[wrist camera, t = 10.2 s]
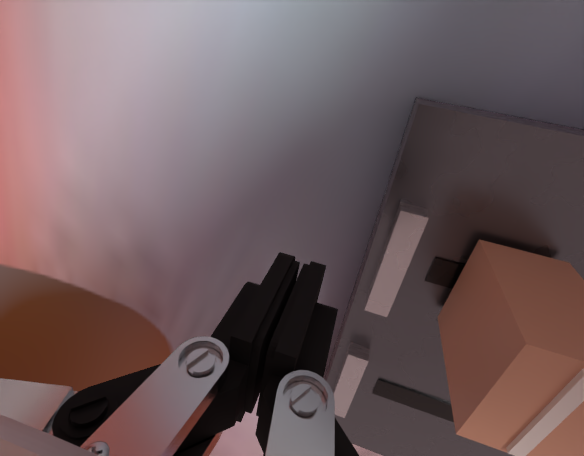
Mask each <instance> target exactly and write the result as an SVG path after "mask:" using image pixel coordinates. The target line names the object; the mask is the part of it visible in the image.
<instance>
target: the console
mask: <svg viewBox="0 0 584 456" xmlns="http://www.w3.org/2000/svg"><path fill="white" fill-rule="evenodd" d="M479 239H480V240H484V241H487V242H491V243H495V244H499V245H503V246H507V247H511V248H514V249H518V250H522V251H526V252H530V253H534V254H538V255H541V256H545V257H549V258H553V259H557V260H561V261H565V262H569V263H570V264H571V265H572V267H573V268H574V269H575V270H576V271H577V272H578V274H579V275H580V276H581V277H582V278H583V280H584V130H582V129H577V128H572V127H567V126H562V125H557V124H551V123H546V122H541V121H536V120H531V119H526V118H520V117H515V116H510V115H505V114H500V113H494V112H489V111H484V110H479V109H474V108H469V107H463V106H458V105H453V104H448V103H443V102H438V101H432V100H427V99H422V98H417V97H416V99H415V102H414V105H413V108H412V111H411V114H410V117H409V120H408V123H407V126H406V130H405V133H404V136H403V139H402V142H401V145H400V148H399V151H398V154H397V157H396V160H395V163H394V166H393V169H392V173H391V176H390V179H389V182H388V185H387V188H386V191H385V194H384V197H383V200H382V203H381V206H380V209H379V212H378V216H377V219H376V222H375V225H374V228H373V231H372V234H371V237H370V240H369V243H368V246H367V249H366V252H365V256H364V259H363V262H362V265H361V268H360V271H359V274H358V277H357V280H356V283H355V286H354V289H353V292H352V295H351V299H350V302H349V305H348V308H347V311H346V314H345V317H344V320H343V323H342V326H341V329H340V332H339V335H338V338H337V342H336V345H335V348H334V351H333V354H332V357H331V360H330V363H329V366H328V369H327V372H326V375H325V378H324V379H325V381H326V382H327V383H328V384H329V385H330V387H331V389H332V391H333V394H334V400H335V418H336V420H337V421H338V423H339V424H340V426H341V428H342V429H343V431H344V432H345V434H346V436H347V437H348V439H349V440H350V442H351V443H352V444H355V445H357V446H360V447H363V448H365V449H368V450H370V451H373V452H376V453H378V454H381V455H383V456H514V455H511V454H508V453H506V452H504V451H501V450H498V449H495V448H492V447H490V446H487V445H484V444H481V443H479V442H476V441H473V440H470V439H468V438H465V437H462V436H459V435H457V434H456V432H455V425H454V419H453V412H452V406H451V400H450V393H449V387H448V381H447V374H446V368H445V361H444V355H443V349H442V342H441V336H440V330H439V323H438V315H439V314H440V312H441V310H442V308H443V306H444V304H445V302H446V300H447V299H448V297H449V295H450V293H451V291H452V289H453V287H454V285H455V284H456V282H457V280H458V278H459V276H460V274H461V272H462V270H463V269H464V267H465V265H466V263H467V261H468V259H469V257H470V255H471V254H472V252H473V250H474V248H475V246H476V244H477V242H478V240H479Z"/></svg>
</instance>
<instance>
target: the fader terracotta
mask: <svg viewBox="0 0 584 456" xmlns="http://www.w3.org/2000/svg"><path fill="white" fill-rule="evenodd" d="M438 323H439V330H440V336H441V342H442V349H443V355H444V361H445V368H446V374H447V381H448V387H449V393H450V400H451V406H452V412H453V419H454V425H455V432H456V434H457V435H459V436H462V437H465V438H468V439H470V440H473V441H476V442H479V443H481V444H484V445H487V446H490V447H492V448H495V449H498V450H501V451H504V452H506V453H508V454H511V455H514V456H584V280H583V278H582V277H581V276H580V275H579V274H578V272H577V271H576V270H575V269H574V268H573V267H572V265H571V264H570V263H569V262H565V261H561V260H557V259H553V258H549V257H545V256H541V255H538V254H534V253H530V252H526V251H522V250H518V249H514V248H511V247H507V246H503V245H499V244H495V243H491V242H487V241H484V240H480V239H479V240H478V242H477V244H476V246H475V248H474V250H473V252H472V254H471V255H470V257H469V259H468V261H467V263H466V265H465V267H464V269H463V270H462V272H461V274H460V276H459V278H458V280H457V282H456V284H455V285H454V287H453V289H452V291H451V293H450V295H449V297H448V299H447V300H446V302H445V304H444V306H443V308H442V310H441V312H440V314H439V315H438Z"/></svg>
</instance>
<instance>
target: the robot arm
mask: <svg viewBox="0 0 584 456" xmlns="http://www.w3.org/2000/svg"><path fill="white" fill-rule="evenodd" d="M299 264H300V262H297V261H295V256H291V255H288V254H284V253H281V252H280V253H279V254H278V256H277V258H276V259H275V261H274V263H273V264H272V266H271V268H270V269H269V271H268V273H267V275H266V276H265V278H264V280H263V281H262V283H261V285H258V284H255V283H251V282H247V283H246V284H245V285H244V287H243V288H242V290H241V291H240V293H239V294H238V296H237V297H236V299H235V300H234V302H233V303H232V305H231V306H230V308H229V309H228V311H227V312H226V314H225V316H224V317H223V319H222V320H221V322H220V323H219V325H218V326H217V328H216V329H215V331H214V332H213V334H212V335H211V337H206V336H200V337H195V338H192V339H189V340H187V341H185V342H184V343H183V344H181V345H180V346H179V347H178V348H177V349H176V350H175V351H174V352H173V353H172V354H171V355H170V356H169V357H168V358H167V359H166V360H165V361H164V362H163V363H162V364H159V365H156V366H153V367H150V368H147V369H144V370H141V371H138V372H134V373H132V374H128V375H125V376H122V377H119V378H116V379H113V380H109V381H106V382H103V383H100V384H97V385H94V386H91V387H88V388H86V389H83V390H82V391H73V388H72V387H70V386H62V385H53V384H44V383H35V382H27V381H19V380H10V379H2V378H0V456H209V455H210V453H211V451H212V450H213V448H214V447H215V445H216V443H217V442H218V440H219V438H220V436H221V434H222V432H223V431H224V430H226V429H228V428H230V427H233V426H234V425H235V423H236V421H239V422H241V421H242V418H243V416H244V414H245V411H246V412H248V413H252V411H253V409H254V406H255V404H256V401H257V398H258V396H259V393H260V396H259V402H258V407H257V413H256V416H259V418H258V423H257V429H256V436H257V439H258V441H259V443H260V446H261V448H262V450H263V453H264V454H263V456H359V455H358V453H357V451H356V450H355V448H354V447H353V445H352V443H351V442H350V440H349V439H348V437H347V436H346V434H345V432H344V431H343V429H342V428H341V426H340V424H339V423H338V421H337V420H336V418H335V400H334V394H333V391H332V389H331V387H330V385H329V384H328V383H327V382H326V381H325V379H324V378H323V376H324V372H325V367H326V362H327V358H328V353H329V348H330V344H331V339H332V334H333V330H334V325H335V320H336V316H337V311H338V309H336V308H332V307H329V306H326V305H323V304H319V303H317V300H318V296H319V292H320V288H321V284H322V281H323V277H324V273H325V269H326V265H323V264H319V263H316V262H312V261H311V262H310V265H308V264H304V265H303V267H302V269H301V271H300V274H299V276H298V278H297V274H298V269H299ZM296 279H297V281H296Z"/></svg>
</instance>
